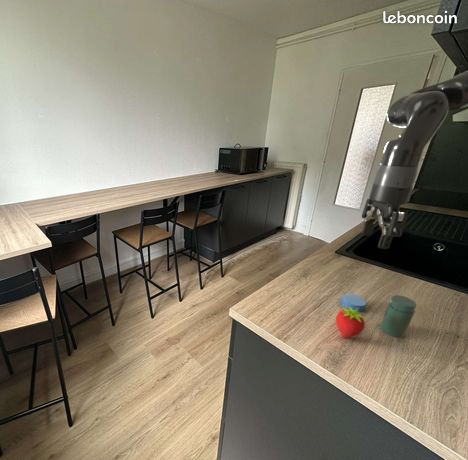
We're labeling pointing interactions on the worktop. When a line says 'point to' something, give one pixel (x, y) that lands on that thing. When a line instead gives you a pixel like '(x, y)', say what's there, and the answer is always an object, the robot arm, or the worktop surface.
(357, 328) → the strawberry
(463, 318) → the worktop surface
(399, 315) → the jar
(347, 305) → the jar lid
